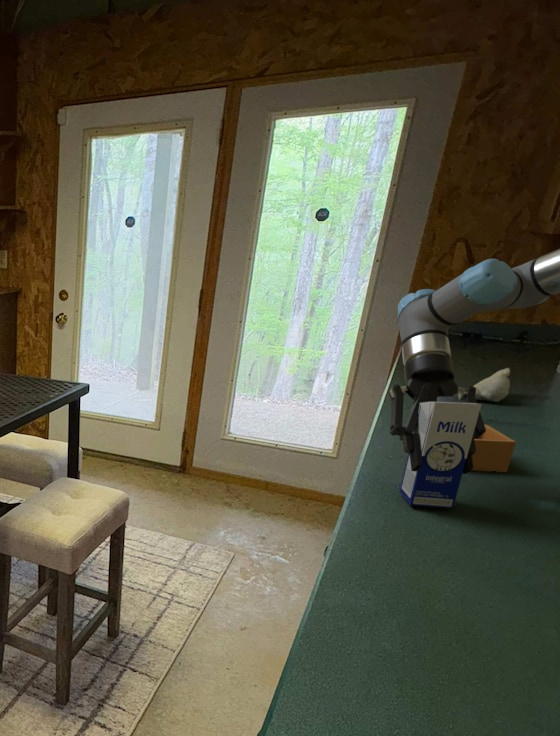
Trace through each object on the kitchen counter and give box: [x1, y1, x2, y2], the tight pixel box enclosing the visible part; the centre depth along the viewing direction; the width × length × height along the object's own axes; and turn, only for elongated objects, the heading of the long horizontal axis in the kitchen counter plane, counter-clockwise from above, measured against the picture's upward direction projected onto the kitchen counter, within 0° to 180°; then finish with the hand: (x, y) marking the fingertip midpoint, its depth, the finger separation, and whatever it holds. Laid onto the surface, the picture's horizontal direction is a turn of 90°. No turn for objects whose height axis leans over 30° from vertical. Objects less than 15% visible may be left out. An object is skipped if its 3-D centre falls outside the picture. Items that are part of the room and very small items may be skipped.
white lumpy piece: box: [473, 367, 511, 403], centre depth 182 cm, size 15×7×15 cm
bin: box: [470, 424, 517, 473], centre depth 138 cm, size 13×13×7 cm
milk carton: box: [399, 396, 483, 509], centre depth 115 cm, size 7×7×20 cm
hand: (441, 469), depth 113 cm, fingers closed on milk carton, 7 cm apart
